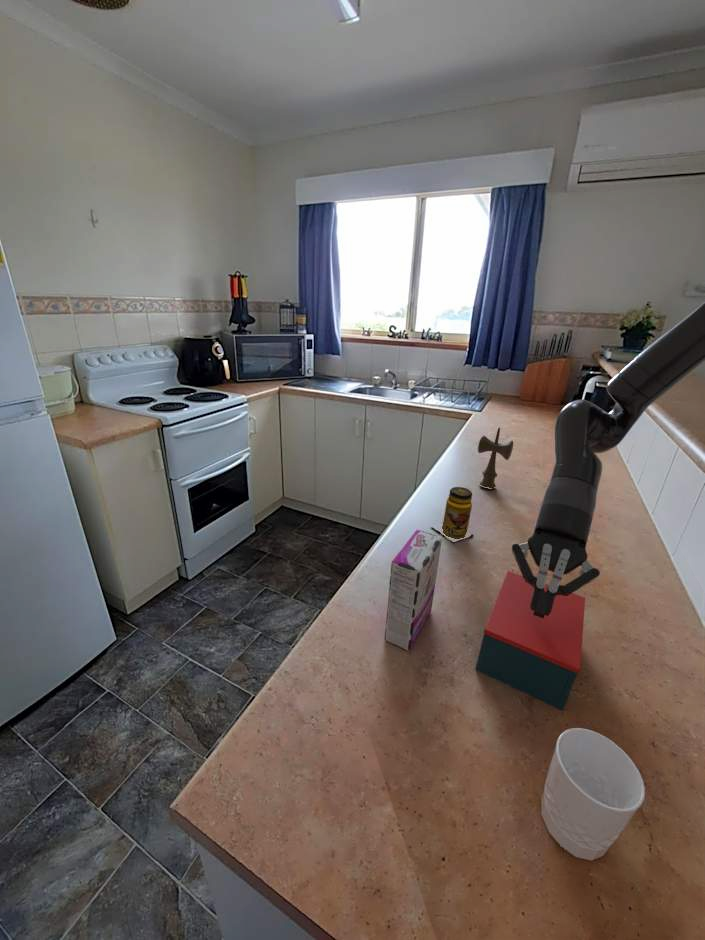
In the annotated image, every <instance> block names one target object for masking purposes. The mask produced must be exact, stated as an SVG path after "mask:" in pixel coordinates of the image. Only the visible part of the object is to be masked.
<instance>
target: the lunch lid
mask: <svg viewBox="0 0 705 940" xmlns="http://www.w3.org/2000/svg"><path fill="white" fill-rule="evenodd" d="M548 586H549V584H548V583H545V588H544V591H547V588H548ZM533 594H534V588H533V586H532V585H530V584H529V583H527V582H525V580H524V578H523V575H522V574H519V573H516V572H513V571H509V570H507V571H506V574H505V576H504V579H503V582H502V584H501V586H500V589H499V592H498V594H497V597H496V599H495V601H494V605H493V607H492V609H491V612H490V614H489V617H488V619H487V622H486V625H485V628H484V631H483V635H484V634H486V635H489V636H491V637H493V638H496V639H498V640H500V641H503V642H505V643H507V644H510V645H512V646H515V647H517V648H519V649H522V650H524V651H526V652H529V653H531V654H533V655H536V656H538V657H540V658H543V659H545V660H547V661H550V662H552V663H554V664H557V665H559V666H561V667H564V668H566V669H568V670H571V671H573V672H575V673H577V675H578V674H579V673H580V672H581V663H582V649H583V648H582V647H583V635H584V634H583V633H584V621H585V607H586V606H585V605H586V604H585V603H586V597H585V596H582V595H579V594H576V593H575V592H573V593H571V594H570V595H568V596H563V595H557V596H555V598H554V602H553V606H552V610H551V613H550V614H549V615H548V616H546V615H545V616H544V618H540V617H537V616H535V615H533V613H534V611H533V610H531V609H530V605H531V601H532V597H533ZM544 594H545V593H544Z"/></svg>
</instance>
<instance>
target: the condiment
mask: <svg viewBox="0 0 705 940" xmlns="http://www.w3.org/2000/svg"><path fill="white" fill-rule="evenodd" d="M472 496H473V492H472V491H471V490H470V489H468V488H466V487H463V486H454V487H452V488H450V490H449V494H448V497H447V499H446V503H445V509H444V515H443V520H442V521H443V522H442V523H443V526H442V529H443V533H444V534H445V535H446V536H448V537H451V538H454V539H460V538H464V537H465V535H466V533H467V531H468V528H469V523H470V518H471V514H472V507H473V503H472V501H473V500H472V498H473V497H472Z"/></svg>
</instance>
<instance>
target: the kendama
mask: <svg viewBox="0 0 705 940" xmlns="http://www.w3.org/2000/svg"><path fill="white" fill-rule="evenodd" d="M500 433H501V427H498V428H497V431H496V434H495V439H494V441H492V440H490V439H489V438H488V437H487V436H486V435H482V436H481V438H480V439H479V442H478V445H477V452H478V454H483V453H486V452H491V454H490V458H489V460H488V462H487V465H486V468H485V470H483V471H482V473H481V474H482V480H481V481H480V482H479V483H480V485H482V486H484V487H489V488H494V487H496V488H497V485H496V483H495V479H496V478H497V477H498V473H497V472H496V461H497V454H499V455H500V456H502V458H503V459H504V460H506V461H508V460H510V458H511V456H512V453H513V449H514V441H513V440H509V441H506V442H501V443H500V442H499V439H500ZM480 485H479V486H480Z"/></svg>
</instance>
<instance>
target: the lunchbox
mask: <svg viewBox="0 0 705 940" xmlns="http://www.w3.org/2000/svg"><path fill="white" fill-rule="evenodd" d="M475 670H476V671H478V672H480V673H482V674H484V675H487V676H488V677H491V678H492V679H495V680H497V681H499V682H501V683H503V684H506V685H508V686H509V687H512V688H514V689H516V690H518V691H520V692H523V693H525V694H526V695H528V696H531V697H533V698H535V699H537V700H540V701H541V702H544V703H546V704H547V705H550V706H553V707H554V708H557V709H559V710H561V711H565V708H566V706H567V705H566V704H567V702H568V700H569V697H570V694H571V691H572V689H573V687H574V684H575V681H576V678H577V676H578V673H575V672H573V671H571V670H568V669H566V668H564V667H561V666H559V665H557V664H554V663H552V662H550V661H547V660H545V659H543V658H540V657H538V656H536V655H533V654H531V653H529V652H526V651H524V650H522V649H519V648H517V647H515V646H512V645H510V644H507V643H505V642H503V641H500V640H498V639H496V638H493V637H491V636H489V635H486V634H484V633H483V636H482V641H481V645H480V649H479V653H478V657H477V662H476V666H475Z"/></svg>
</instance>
